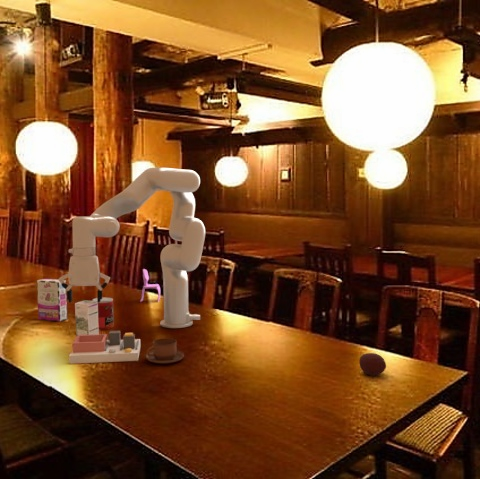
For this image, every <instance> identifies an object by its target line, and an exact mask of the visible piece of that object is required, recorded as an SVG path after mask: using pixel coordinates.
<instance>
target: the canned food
mask: <svg viewBox="0 0 480 479" xmlns="http://www.w3.org/2000/svg"><path fill="white" fill-rule="evenodd" d="M91 301H95V302H98V300H97V297H96V298H93V299H92V300H91ZM114 318H115V317H114V299H113V298H112V297H104V296H102V299H101V301H100V302H98V326H99V331H101V330H102V331H103V330H104V331H105V330H110V329H112V328H114V326H115V325H114V324H115V322H114V320H115V319H114Z"/></svg>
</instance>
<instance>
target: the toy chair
mask: <svg viewBox="0 0 480 479" xmlns="http://www.w3.org/2000/svg"><path fill="white" fill-rule="evenodd" d="M142 278H143V286H142V289H141V298H140V301H139V302H140V303H142V302H143V301H144V295H145V289H155V290H157V294H158V296H157V301H156V302H157V303H159V301H160V299H161V287H160V284H158V283H155V284H154V283H152V284H150V283H148V282H149V280H150V276H149V273H148V270H147V269H145V268H143V269H142Z"/></svg>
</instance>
